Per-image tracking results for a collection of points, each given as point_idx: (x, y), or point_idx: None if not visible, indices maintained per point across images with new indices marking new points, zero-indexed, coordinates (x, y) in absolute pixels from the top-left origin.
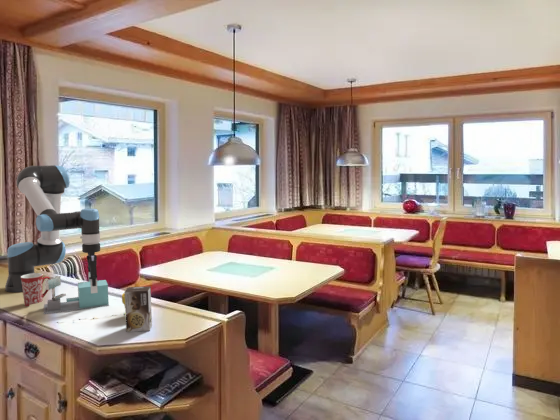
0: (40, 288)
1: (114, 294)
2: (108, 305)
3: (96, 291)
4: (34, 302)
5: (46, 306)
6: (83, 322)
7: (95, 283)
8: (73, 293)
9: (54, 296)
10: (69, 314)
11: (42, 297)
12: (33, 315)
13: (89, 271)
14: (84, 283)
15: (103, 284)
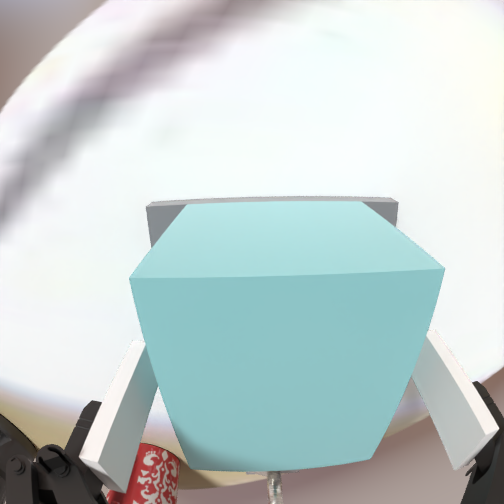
0: (152, 500)
1: (50, 145)
2: (386, 205)
3: (438, 344)
4: (176, 468)
5: None
6: (492, 319)
7: (489, 399)
8: (21, 346)
9: (280, 479)
10: None
11: (138, 459)
12: None
13: (99, 489)
14: (239, 449)
15: (395, 316)
